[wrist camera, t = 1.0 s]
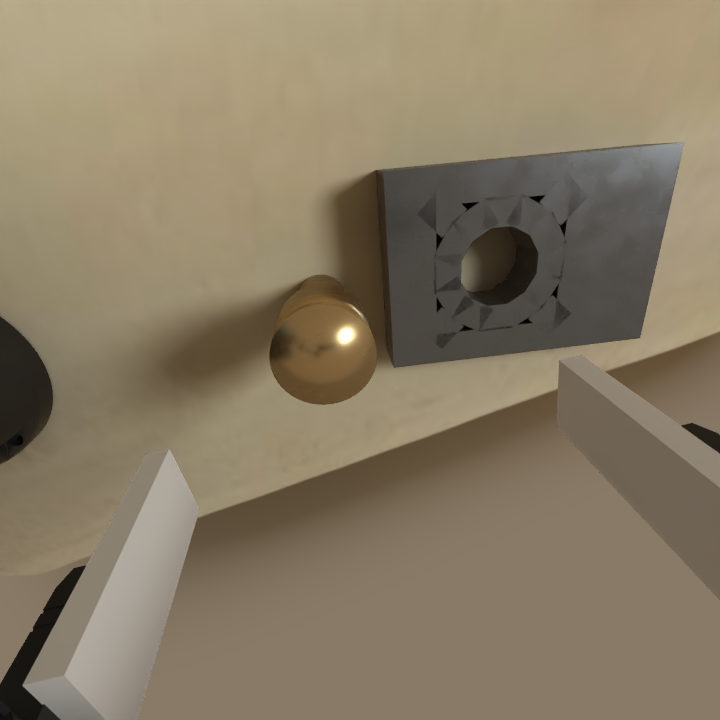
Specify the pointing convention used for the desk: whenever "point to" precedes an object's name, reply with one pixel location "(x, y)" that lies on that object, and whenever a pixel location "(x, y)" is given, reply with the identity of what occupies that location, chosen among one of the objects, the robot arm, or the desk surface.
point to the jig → (523, 250)
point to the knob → (322, 343)
